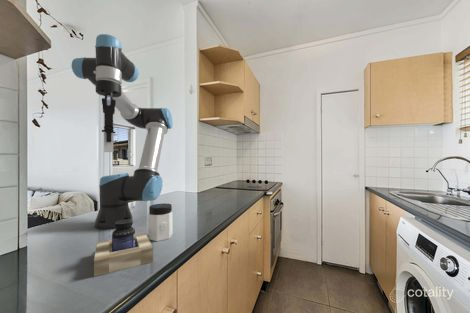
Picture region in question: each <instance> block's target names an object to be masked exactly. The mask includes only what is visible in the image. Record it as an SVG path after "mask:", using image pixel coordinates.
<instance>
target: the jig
mask: <svg viewBox="0 0 470 313" xmlns="http://www.w3.org/2000/svg"><path fill="white" fill-rule="evenodd" d="M95 247H96V248H95V251H94V252H95V253H94V258H93V277H94V278H95V277H99V276H104V275H106V274H110V273H115V272H118V271H122V270H125V269H130V268H134V267H138V266H142V265H146V264H149V263H153V262H154V255H153V254H154V248H153V245H152V243H151V240H149V239H148V235H147V233H140V234H135V247H134V248H130V249H125V250H120V251H115V252H112V239H107V240H101V241H97V242H96V246H95Z"/></svg>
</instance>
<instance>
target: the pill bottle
mask: <svg viewBox="0 0 470 313" xmlns="http://www.w3.org/2000/svg"><path fill="white" fill-rule="evenodd" d="M114 229H115V230H113V231H112V233H111V240H112V252H115V251H120V250H125V249H130V248H134V247H135V235H136V229H135V228H134V227H133V221H132V220H120V221H117V222H115V228H114Z"/></svg>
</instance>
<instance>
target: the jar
mask: <svg viewBox="0 0 470 313" xmlns="http://www.w3.org/2000/svg"><path fill="white" fill-rule="evenodd" d="M172 206H173V205H172V204H171V203H155V204H152V205H151V204H150V205H149V209H148V210H149V211H148V212H149V213H148V215H147V216H148V218H147V219H148V220H147V222H148V227H147V228H148V230H147V231H148V232H147V234H148V235H147V237H148V239H149V241H155V242H160V241H164V240H169V239H170V238H171V237H172V236H173V232H174V231H173V229H174V228H173V226H174V224H173V210H172V208H173V207H172Z"/></svg>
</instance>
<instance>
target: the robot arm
mask: <svg viewBox="0 0 470 313" xmlns="http://www.w3.org/2000/svg"><path fill="white" fill-rule="evenodd" d="M122 46H123V45H122V42H121V41H120V39H118V38H117V37H116V36H114V35H111V34H108V33H106V34H105V33H101V34H98V35H97V36H96V39H95V45H94V48H95V57H87V56H86V57H85V56H84V57H77V58H73V60H72V61H71V65H70V66H71V69H72V70H71V71H72V72H73V74H74V76H76V78H79V79H83V80H88V81H89V82H91V84H93V86H94V87H95V93H96V94H97V95H99V96H104V97H102V98H101V105H102V112H103V114H104V115H103V116H104V118H103V120H104V122H103V123H104V124H103V125H104V126H103V129H101V132H102V133H103V153H114V134H116V131H114V130H115V129H114V115H115V112H116V109H117V111H119V112H120V117H122V119H124V120H125V121H126V122H127V123H129V124H130V125H132V126H134V127H136V128H138V129H144V130H145V129H146V131H147V132H146V137H145V140H144V145H143V149H142V154H141V156H140V162H139V166H138V168H136V169H135V170H134V171H133V175H129V173H128V172H125V173H119V174H111V175H105V176H104V175H103V176H102V177H100V178H99V185H98V187H99V210H98V213H97V216H96V218H95V220H94V228H96V229H99V230H108V229H110V230H111V229H116V228H115V222H117V221H120V220H132V222H133V215H132V211H131V209H130V205H129V202H150V201H155V200H157V199H158V198H159V197H160V195H161V193H162V189H163V178H162V176H161V175H160V172H158V169H159V163H160V158H161V153H162V147H163V142H164V137H165V135H166V134H167V133H168V132H169V131H168V130H169V129H170V130H171V129H173V117H172V112H171V111H170V109H168V108H167V107H155V108H150V107H139V106H137V104H135V103H133V102H132V100H130V98H129V97H128V96H127V94H125V92H124V91H123V90H122V86H121V85H122V83H123V82H122V80H123V81H124V82H127V83H133V82H135V81H137V79H138V78H139V69H138V68H137V67H136V65H135V64H134V62H133V61H131V60H130V59H129V58H128V57H127V56H126V55H125V53H123V52H122V50H123V47H122ZM115 108H116V109H115Z"/></svg>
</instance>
